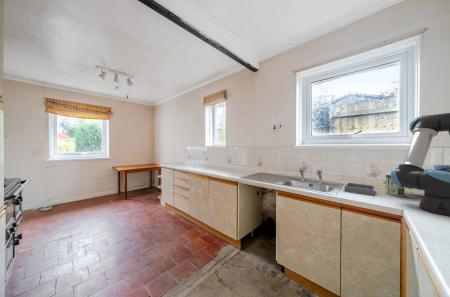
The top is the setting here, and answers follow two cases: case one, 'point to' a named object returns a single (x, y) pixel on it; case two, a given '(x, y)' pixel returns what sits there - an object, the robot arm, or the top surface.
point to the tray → (360, 188)
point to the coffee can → (393, 188)
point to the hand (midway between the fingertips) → (388, 183)
